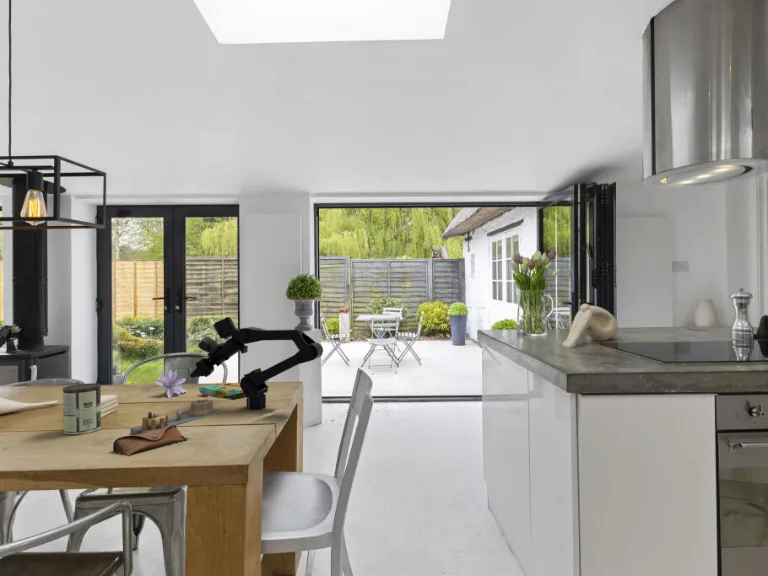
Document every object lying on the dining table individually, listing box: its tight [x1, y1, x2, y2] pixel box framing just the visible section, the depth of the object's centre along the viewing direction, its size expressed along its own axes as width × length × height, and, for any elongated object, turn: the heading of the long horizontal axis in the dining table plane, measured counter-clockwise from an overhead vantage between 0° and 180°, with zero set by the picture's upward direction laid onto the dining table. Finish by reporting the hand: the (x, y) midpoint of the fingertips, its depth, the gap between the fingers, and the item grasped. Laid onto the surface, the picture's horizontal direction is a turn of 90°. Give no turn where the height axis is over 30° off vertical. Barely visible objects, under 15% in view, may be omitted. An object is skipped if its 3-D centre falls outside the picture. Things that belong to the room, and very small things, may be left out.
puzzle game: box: [198, 382, 245, 400], centre depth 196 cm, size 12×5×20 cm
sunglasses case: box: [112, 425, 188, 457], centre depth 132 cm, size 18×7×7 cm
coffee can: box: [62, 382, 102, 435], centre depth 148 cm, size 10×10×14 cm
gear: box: [189, 399, 214, 416], centre depth 161 cm, size 7×7×4 cm
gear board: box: [130, 408, 222, 435], centre depth 153 cm, size 10×27×6 cm, turn 151°
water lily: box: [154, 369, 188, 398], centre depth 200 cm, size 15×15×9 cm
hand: (195, 371), depth 173 cm, fingers open, 9 cm apart
